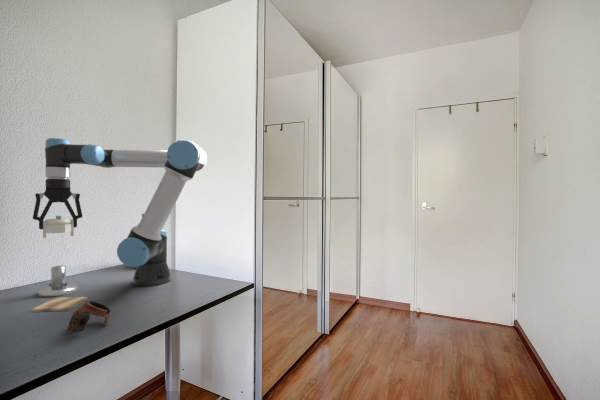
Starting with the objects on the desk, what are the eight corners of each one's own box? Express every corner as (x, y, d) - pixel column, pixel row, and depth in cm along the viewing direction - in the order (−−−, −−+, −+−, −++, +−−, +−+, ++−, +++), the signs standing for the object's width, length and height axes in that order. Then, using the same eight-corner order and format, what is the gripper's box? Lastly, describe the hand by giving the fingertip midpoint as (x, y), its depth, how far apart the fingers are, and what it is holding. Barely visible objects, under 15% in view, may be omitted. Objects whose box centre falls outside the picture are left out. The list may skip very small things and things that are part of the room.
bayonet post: (84, 286, 125) (83, 263, 125) (65, 296, 113) (65, 270, 113) (52, 287, 124) (52, 263, 123) (30, 297, 112) (30, 271, 111)
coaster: (87, 298, 111) (87, 296, 111) (68, 310, 100) (68, 307, 100) (54, 300, 110) (54, 297, 110) (31, 311, 99) (31, 309, 99)
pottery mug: (73, 324, 91) (90, 298, 93) (103, 336, 92) (119, 310, 94) (51, 331, 79) (71, 301, 82) (86, 345, 80) (104, 315, 83)
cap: (72, 232, 118) (72, 216, 118) (46, 233, 112) (45, 217, 112) (70, 230, 124) (69, 215, 123) (45, 231, 118) (44, 216, 118)
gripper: (88, 180, 127) (88, 233, 128) (22, 178, 113) (23, 238, 114) (91, 179, 122) (91, 235, 122) (22, 177, 108) (22, 240, 108)
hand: (58, 236), depth 118 cm, fingers closed on cap, 8 cm apart
